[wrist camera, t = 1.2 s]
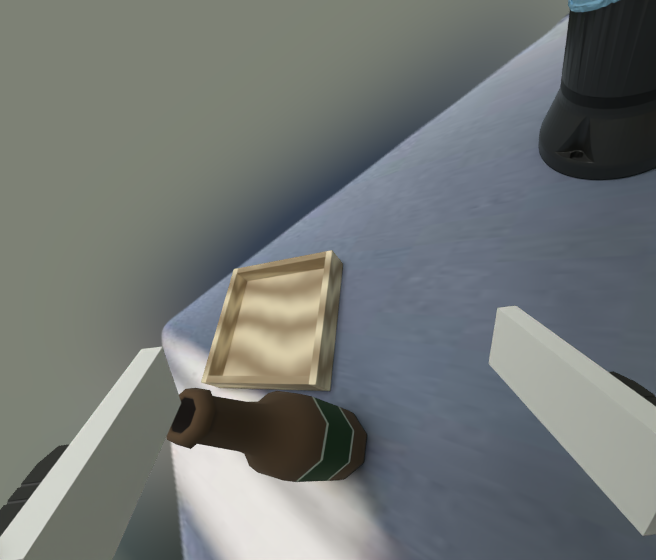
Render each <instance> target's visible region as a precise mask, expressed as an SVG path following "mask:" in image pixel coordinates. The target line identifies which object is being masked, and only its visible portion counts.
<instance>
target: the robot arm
mask: <svg viewBox="0 0 656 560" xmlns="http://www.w3.org/2000/svg"><path fill="white" fill-rule="evenodd" d="M568 6H569V8H570V14H569V22H568V31H567V39H566V47H565V54H564V62H563V69H562V78H561V86H560V89H559V91H558V93H557V95H556V97H555V99H554V101H553V103H552V105H551V107H550V109H549V111H548V113H547V115H546V117H545V119H544V121H543V123H542V126H541V129H540V134H539V152H540V155H541V157H542V158H543V160H544V161H545V162H546V163H547V164H548V165H549V166H550V167H552V168H553V169H555V170H557V171H559V172H561V173H563V174H566V175H569V176H573V177H578V178H585V179H613V178H620V177H626V176H631V175H635V174H638V173H642V172H645V171H648V170H650V169H653V168H655V167H656V0H568ZM489 364H490V366H491V367H492V368H493V369H494V370H495V371H496V372H497V373H498V374H499V376H500V377H501V378H502V379H503V380H504V381H505V382H506V383H507V385H508V386H509V387H510V388H511V389H512V390H513V391H514V392H515V393H516V395H517V396H518V397H519V398H520V399H521V400H522V401H523V402H524V404H525V405H526V406H527V407H528V408H529V409H530V410H531V411H532V412H533V414H534V415H535V416H536V417H537V418H538V419H539V420H540V421H541V423H542V424H543V425H544V426H545V427H546V428H547V429H548V430H549V431H550V433H551V434H552V435H553V436H554V437H555V438H556V439H557V440H558V442H559V443H560V444H561V445H562V446H563V447H564V448H565V449H566V450H567V452H568V453H569V454H570V455H571V456H572V457H573V458H574V459H575V461H576V462H577V463H578V464H579V465H580V466H581V467H582V468H583V469H584V471H585V472H586V473H587V474H588V475H589V476H590V477H591V478H592V480H593V481H594V482H595V483H596V484H597V485H598V486H599V487H600V488H601V490H602V491H603V492H604V493H605V494H606V495H607V496H608V497H609V499H610V500H611V501H612V502H613V503H614V504H615V505H616V506H617V507H618V509H619V510H620V511H621V512H622V513H623V514H624V515H625V516H626V518H627V519H628V520H629V521H630V522H631V523H632V524H633V525H634V526H635V528H636V529H637V530H638V531H639V532H640V533H641V534H642V535H643V536H646V535H652V534H656V397H655V395H654V394H652V393H651V392H649V391H648V390H647V389H645V388H644V387H642V386H641V385H639V384H638V383H636V382H635V381H633V380H630V379H628V378H626V377H624V376H622V375H620V374H618V373H615V372H607V371H606V370H604V369H603V368H602V367H600V366H599V365H597V364H596V363H595V362H593V361H592V360H590V359H589V358H588V357H586V356H585V355H584V354H582V353H581V352H579V351H578V350H577V349H575V348H574V347H572V346H571V345H570V344H568V343H567V342H565V341H564V340H563V339H561V338H560V337H559V336H557V335H556V334H554V333H553V332H552V331H550V330H549V329H547V328H546V327H545V326H543V325H542V324H540V323H539V322H538V321H536V320H535V319H534V318H532V317H531V316H529V315H528V314H527V313H525V312H524V311H522V310H521V309H520V308H518V307H517V306H509V307H501V308H497V314H496V321H495V327H494V333H493V340H492V346H491V352H490V358H489ZM180 404H181V400H180V397H179V394H178V391H177V388H176V385H175V383H174V380H173V377H172V374H171V371H170V368H169V365H168V362H167V359H166V356H165V353H164V350H163V347H156V348H148V349H141V351H140V352H139V353H138V354H137V356H136V357H135V358H134V360H133V361H132V363H131V364H130V365H129V366H128V368H127V369H126V371H125V372H124V373H123V374H122V376H121V377H120V378H119V380H118V381H117V383H116V384H115V385H114V387H113V388H112V389H111V390H110V392H109V393H108V394H107V396H106V397H105V398H104V400H103V401H102V402H101V404H100V405H99V406H98V408H97V409H96V410H95V412H94V413H93V414H92V416H91V417H90V418H89V420H88V421H87V422H86V424H85V425H84V426H83V428H82V429H81V430H80V432H79V433H78V434H77V436H76V437H75V438H74V440H73V441H72V442H71V444H70V445H63V446H58V447H57V448H56V449H55V450H53V451H52V452H51V453H50V454H49V455H47V456H46V457H45V458H44V459H43V460H42V461H40V462H39V463H38V464H37V465H36V466H35V468H34V469H33V470H32V471H31V472H30V474H29V475H28V476H27V477H26V479H25V480H24V481H23V482H22V484H21V487H20V488H17V490H16V491H15V492H14V493H13V495H12V496H11V497H10V498H9V500H8V503H7V505H4V506H3V507H2V508H1V510H0V560H112V559H113V557H114V554H115V552H116V550H117V548H118V545H119V543H120V541H121V538H122V536H123V534H124V532H125V529H126V527H127V525H128V523H129V520H130V518H131V516H132V513H133V511H134V509H135V507H136V504H137V502H138V500H139V498H140V495H141V493H142V491H143V488H144V486H145V484H146V482H147V479H148V477H149V475H150V473H151V470H152V468H153V466H154V464H155V461H156V459H157V457H158V454H159V452H160V450H161V447H162V445H163V443H164V441H165V438H166V436H167V434H168V432H169V429H170V427H171V425H172V423H173V420H174V418H175V416H176V414H177V411H178V409H179V407H180Z"/></svg>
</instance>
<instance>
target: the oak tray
mask: <svg viewBox="0 0 656 560" xmlns="http://www.w3.org/2000/svg"><path fill="white" fill-rule="evenodd" d="M342 267H343V263H342V262H341V261H340V259H339V258H338V257H337V256H336V255H335V253H334V252H333V251H332V250H331V251H326V252H321V253H316V254H311V255H305V256H300V257H295V258H290V259H285V260H279V261H274V262H269V263H264V264H259V265H253V266H248V267H243V268H238V269H234V271H233V274H232V277H231V281H230V284H229V288H228V291H227V295H226V298H225V302H224V305H223V309H222V312H221V315H220V319H219V322H218V326H217V329H216V333H215V336H214V340H213V343H212V346H211V350H210V353H209V357H208V360H207V364H206V367H205V371H204V374H203V377H202V381H201V382H202V383H205V384H208V385H212V386H215V387H219V388H244V389H280V390H315V391H330V386H331V376H332V366H333V357H334V347H335V337H336V327H337V317H338V307H339V297H340V287H341V277H342Z"/></svg>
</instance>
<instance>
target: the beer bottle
mask: <svg viewBox="0 0 656 560" xmlns="http://www.w3.org/2000/svg"><path fill="white" fill-rule="evenodd" d="M179 397H180V400H181V404H180V407H179V409H178V411H177V414H176V416H175V418H174V420H173V423H172V425H171V427H170V429H169V432H168V434H167V440H169V441H171V442H173V443H175V444H177V445H180V446H183V447H187V448H190V449H191V448H192V447H194V446H195V445H196V444H202V445H207V446H213V447H218V448H223V449H229V450H234V451H240V452H242V453H244V454H245V456H246V459H247V461H248V463H249V466H250V467H251V468H253V469H254V470H255V471H256V472H258V473H261V474H265V475H268V476H271V477H274V478H278V479H281V480H285V481H292V482H306V481H333V480H342V479H345V478H346V477H347V476H348V475H350V474H351V473H352V472H353V471H354V470H355V469H357V468H358V467H359V466H360V465H361V464H362V463H364V455H365V446H366V438H367V434H366V432H365V431H364V429H363V428H362V426H361V425H360V423H359V421H358V420H357V418H356V417H355V415H354V413H352V412H350V411H348V410H346V409H343V408H341V407H338V406H335V405H333V404H330V403H328V402H325V401H322V400H320V399H317V398H314V397H312V396H307V395H303V394H296V393H289V392H282V391H275V392H271V393H268V394H267V395H265V396H264V397H263V398H262V399H261V400H260V401H258V402H244V401H239V400H233V399H227V398H221V397H215V396H212V394H211V391H210V390H205V389H199V388H190V389H185V390H184V391H183V392H182V393H181V394H179Z"/></svg>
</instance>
